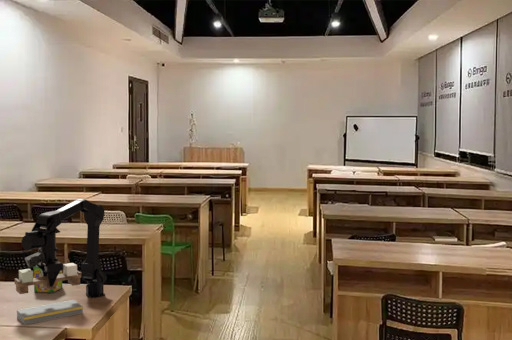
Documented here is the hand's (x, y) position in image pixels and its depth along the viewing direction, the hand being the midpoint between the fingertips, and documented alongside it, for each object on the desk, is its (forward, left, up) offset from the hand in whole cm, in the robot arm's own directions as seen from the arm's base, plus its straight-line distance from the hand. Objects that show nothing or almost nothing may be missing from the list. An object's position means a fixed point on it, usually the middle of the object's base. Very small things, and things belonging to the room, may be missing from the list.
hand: (48, 284), depth 218 cm
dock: (+1, +4, -11) cm, 12 cm away
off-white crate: (-9, 0, +3) cm, 9 cm away
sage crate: (+8, 0, +3) cm, 9 cm away
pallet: (0, 0, -1) cm, 1 cm away
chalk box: (-9, -31, -11) cm, 34 cm away
